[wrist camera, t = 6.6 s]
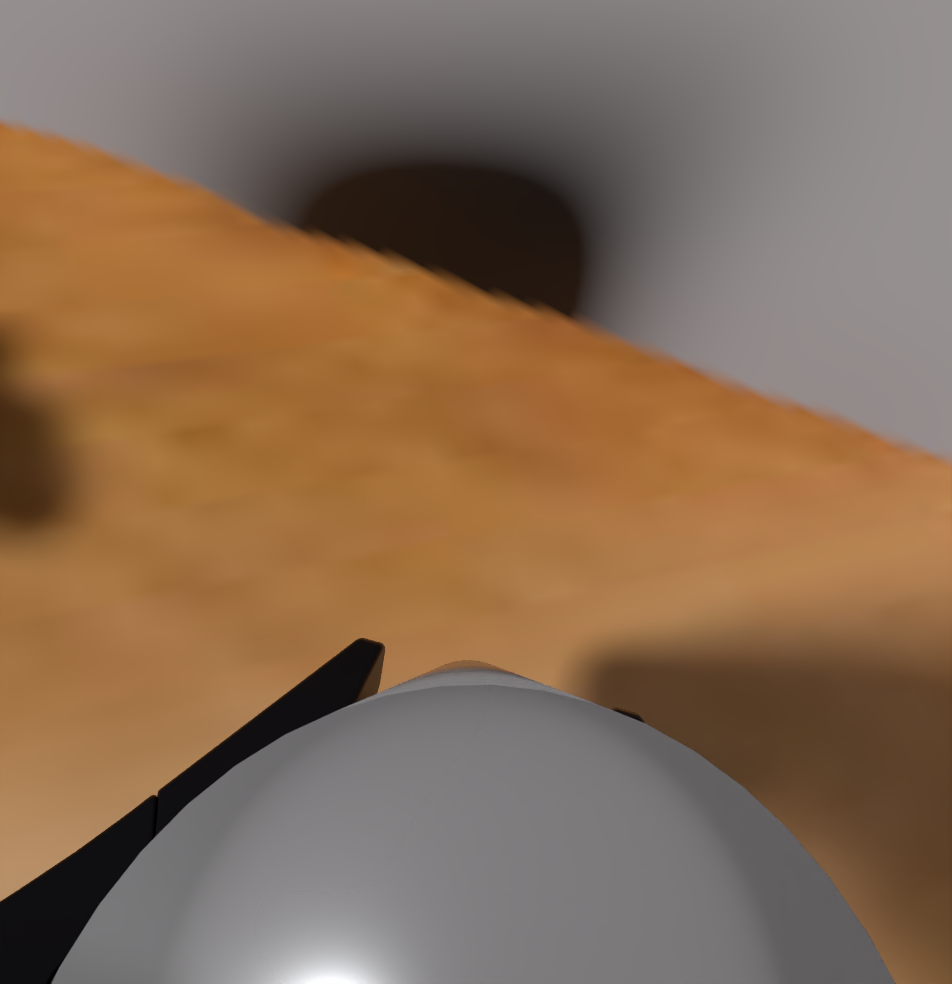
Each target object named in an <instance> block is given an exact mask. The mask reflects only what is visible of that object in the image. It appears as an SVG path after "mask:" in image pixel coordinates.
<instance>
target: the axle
mask: <svg viewBox="0 0 952 984" xmlns="http://www.w3.org/2000/svg"><path fill="white" fill-rule="evenodd" d="M51 984H895V982H894V980H893V979H892V977H891V975H890V973H889V971H888V969H887V967H886V966H885V964H884V962H883V960H882V958H881V956H880V955H879V953H878V951H877V949H876V947H875V945H874V944H873V942H872V940H871V938H870V936H869V935H868V933H867V932H866V930H865V929H864V927H863V926H862V924H861V923H860V921H859V920H858V918H857V917H856V915H855V914H854V913H853V911H852V910H851V908H850V907H849V905H848V904H847V902H846V901H845V899H844V898H843V896H842V895H841V894H840V892H839V891H838V889H837V888H836V886H835V885H834V883H833V882H832V880H831V879H830V878H829V876H828V875H827V874H826V873H825V872H824V871H823V869H822V868H821V867H820V866H819V865H818V864H817V862H816V861H815V860H814V859H813V858H812V856H811V855H810V854H809V853H808V852H807V851H806V849H805V848H804V847H803V846H802V845H801V844H800V842H799V841H798V840H797V839H796V838H795V837H794V835H793V834H792V833H791V832H790V831H789V830H788V828H787V827H785V826H784V825H783V824H782V823H781V822H780V821H779V820H778V819H777V818H776V817H775V816H774V815H773V814H772V813H771V812H769V811H768V810H767V809H766V808H765V807H764V806H763V805H762V804H761V803H760V802H759V801H758V800H757V799H756V798H755V797H753V796H752V795H751V794H750V793H749V792H748V791H747V790H746V789H745V788H744V787H743V786H742V785H740V784H739V783H737V782H736V781H735V780H733V779H732V778H731V777H729V776H728V775H727V774H725V773H724V772H722V771H721V770H720V769H718V768H717V767H716V766H714V765H713V764H712V763H710V762H709V761H708V760H706V759H705V758H703V757H702V756H701V755H699V754H698V753H697V752H695V751H694V750H692V749H690V748H688V747H686V746H685V745H683V744H681V743H679V742H678V741H676V740H674V739H672V738H670V737H669V736H667V735H665V734H663V733H661V732H660V731H658V730H656V729H654V728H653V727H651V726H649V725H647V724H645V723H643V722H640V721H638V720H635V719H633V718H630V717H628V716H625V715H623V714H620V713H618V712H615V711H613V710H610V709H608V708H605V707H603V706H600V705H598V704H595V703H593V702H590V701H587V700H585V699H582V698H579V697H577V696H574V695H571V694H569V693H566V692H563V691H560V690H558V689H555V688H552V687H550V686H547V685H544V684H542V683H539V682H536V681H534V680H531V679H528V678H526V677H523V676H520V675H518V674H515V673H512V672H510V671H507V670H504V669H501V668H499V667H496V666H493V665H491V664H488V663H484V662H480V661H473V660H462V661H456V662H452V663H449V664H445V665H443V666H441V667H438V668H436V669H434V670H431V671H429V672H427V673H424V674H422V675H420V676H417V677H415V678H413V679H410V680H408V681H405V682H403V683H401V684H398V685H396V686H394V687H391V688H389V689H387V690H384V691H382V692H380V693H377V694H375V695H373V696H370V697H368V698H366V699H363V700H361V701H359V702H356V703H354V704H351V705H349V706H347V707H344V708H342V709H340V710H337V711H335V712H333V713H331V714H329V715H326V716H324V717H322V718H320V719H318V720H316V721H313V722H311V723H309V724H307V725H305V726H303V727H300V728H298V729H296V730H294V731H292V732H290V733H287V734H285V735H284V736H282V737H280V738H279V739H277V740H276V741H274V742H272V743H271V744H269V745H268V746H266V747H264V748H263V749H261V750H260V751H258V752H256V753H255V754H253V755H252V756H250V757H248V758H247V759H245V760H244V761H242V762H240V763H239V764H237V765H236V766H234V767H233V768H232V769H231V770H229V771H228V772H227V773H226V774H224V775H223V776H222V777H221V778H219V779H218V780H217V781H216V782H214V783H213V784H212V785H211V786H210V787H208V788H207V789H206V790H205V791H203V792H202V793H201V794H200V795H198V796H197V797H196V798H195V799H193V800H192V801H191V802H190V803H188V804H187V805H186V806H185V807H184V808H183V809H182V810H181V811H180V812H179V813H178V814H177V815H176V816H175V817H174V818H173V819H172V821H171V822H170V823H169V824H168V825H167V826H166V827H165V828H164V829H163V830H162V831H161V832H160V833H159V834H158V835H157V836H156V837H155V838H154V839H153V840H152V841H151V842H150V843H149V844H148V845H147V846H146V847H145V848H144V849H143V850H142V851H141V852H140V854H139V855H138V856H137V857H136V859H135V860H134V861H133V862H132V864H131V865H130V866H129V868H128V869H127V870H126V871H125V873H124V874H123V875H122V876H121V878H120V879H119V880H118V881H117V883H116V884H115V885H114V886H113V888H112V889H111V890H110V892H109V893H108V894H107V895H106V897H105V898H104V899H103V900H102V902H101V903H100V904H99V906H98V907H97V909H96V910H95V912H94V914H93V915H92V917H91V918H90V920H89V921H88V923H87V925H86V926H85V928H84V929H83V931H82V932H81V934H80V936H79V937H78V939H77V940H76V942H75V944H74V945H73V947H72V948H71V950H70V951H69V953H68V955H67V956H66V958H65V959H64V961H63V962H62V964H61V966H60V967H59V969H58V971H57V973H56V975H55V977H54V979H53V981H52V983H51Z"/></svg>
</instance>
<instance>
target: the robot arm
mask: <svg viewBox="0 0 952 984" xmlns="http://www.w3.org/2000/svg"><path fill="white" fill-rule="evenodd" d="M384 654H385V646H384V645H383V644H382V643H380V642H376V641H372V640H369V639H365V638H359V639H357V640H356V641H354V642H353V643H352V644H350V645H349V646H348V647H346V648H345V649H344V650H343V651H341V652H340V653H339V654H337V655H336V656H335V657H333V658H332V659H331V660H329V661H328V662H327V663H325V664H324V665H323V666H322V667H320V668H319V669H318V670H316V671H315V672H314V673H312V674H311V675H310V676H308V677H307V678H306V679H304V680H303V681H302V682H301V683H299V684H298V685H297V686H295V687H294V688H293V689H291V690H290V691H289V692H287V693H286V694H285V695H283V696H282V697H281V698H279V699H278V700H277V701H276V702H274V703H273V704H272V705H270V706H269V707H268V708H266V709H265V710H264V711H262V712H261V713H260V714H258V715H257V716H256V717H255V718H253V719H252V720H251V721H249V722H248V723H247V724H245V725H244V726H243V727H241V728H240V729H239V730H237V731H236V732H235V733H233V734H232V735H231V736H230V737H228V738H227V739H226V740H224V741H223V742H222V743H220V744H219V745H218V746H216V747H215V748H214V749H212V750H211V751H210V752H209V753H207V754H206V755H205V756H203V757H202V758H201V759H199V760H198V761H197V762H195V763H194V764H193V765H191V766H190V767H189V768H188V769H186V770H185V771H184V772H182V773H181V774H180V775H178V776H177V777H176V778H174V779H173V780H172V781H170V782H169V783H168V784H166V785H165V786H164V787H163V788H161V789H160V790H159V791H158V795H157V796H156V795H152V796H150V797H149V798H148V799H146V800H145V801H144V802H142V803H141V804H140V805H138V806H137V807H136V808H135V809H133V810H132V811H131V812H129V813H128V814H127V815H125V816H124V817H123V818H121V819H120V820H119V821H117V822H116V823H115V824H113V825H112V826H110V827H109V828H108V829H106V830H105V831H104V832H102V833H101V834H99V835H98V836H97V837H95V838H94V839H93V840H91V841H90V842H88V843H87V844H86V845H84V846H83V847H82V848H80V849H79V850H77V851H76V852H75V853H73V854H72V855H70V856H69V857H67V858H66V859H64V860H63V861H61V862H60V863H58V864H57V865H55V866H54V867H52V868H51V869H49V870H48V871H46V872H45V873H43V874H42V875H40V876H39V877H37V878H36V879H34V880H33V881H31V882H30V883H28V884H27V885H25V886H23V887H22V888H20V889H19V890H17V891H16V892H14V893H13V894H11V895H10V896H8V897H7V898H5V899H3V900H2V901H0V984H51V983H52V981H53V979H54V977H55V975H56V973H57V971H58V969H59V967H60V966H61V964H62V962H63V961H64V959H65V958H66V956H67V955H68V953H69V951H70V950H71V948H72V947H73V945H74V944H75V942H76V940H77V939H78V937H79V936H80V934H81V932H82V931H83V929H84V928H85V926H86V925H87V923H88V921H89V920H90V918H91V917H92V915H93V914H94V912H95V910H96V909H97V907H98V906H99V904H100V903H101V902H102V900H103V899H104V898H105V897H106V895H107V894H108V893H109V892H110V890H111V889H112V888H113V886H114V885H115V884H116V883H117V881H118V880H119V879H120V878H121V876H122V875H123V874H124V873H125V871H126V870H127V869H128V868H129V866H130V865H131V864H132V862H133V861H134V860H135V859H136V857H137V856H138V855H139V854H140V852H141V851H142V850H143V849H144V848H145V847H146V846H147V845H148V844H149V843H150V842H151V841H152V840H153V839H154V838H155V837H156V836H157V835H158V834H159V833H160V832H161V831H162V830H163V829H164V828H165V827H166V826H167V825H168V824H169V823H170V822H171V821H172V819H173V818H174V817H175V816H176V815H177V814H178V813H179V812H180V811H181V810H182V809H183V808H184V807H185V806H186V805H187V804H188V803H190V802H191V801H192V800H193V799H195V798H196V797H197V796H198V795H200V794H201V793H202V792H203V791H205V790H206V789H207V788H208V787H210V786H211V785H212V784H213V783H214V782H216V781H217V780H218V779H219V778H221V777H222V776H223V775H224V774H226V773H227V772H228V771H229V770H231V769H232V768H233V767H234V766H236V765H237V764H239V763H240V762H242V761H244V760H245V759H247V758H248V757H250V756H252V755H253V754H255V753H256V752H258V751H260V750H261V749H263V748H264V747H266V746H268V745H269V744H271V743H272V742H274V741H276V740H277V739H279V738H280V737H282V736H284V735H285V734H287V733H290V732H292V731H294V730H296V729H298V728H300V727H303V726H305V725H307V724H309V723H311V722H313V721H316V720H318V719H320V718H322V717H324V716H326V715H329V714H331V713H333V712H335V711H337V710H340V709H342V708H344V707H347V706H349V705H351V704H354V703H356V702H359V701H361V700H363V699H366V698H368V697H370V696H373V695H375V694H377V692H378V688H379V684H380V679H381V673H382V667H383V660H384ZM611 710H613V711H615V712H618V713H620V714H623V715H625V716H628V717H630V718H633V719H635V720H638V721H640V722H643V723H645V722H644V721H643V719H642V718H641V717H640V716H639V715H638V714H637V713H634V712H630V711H626V710H623V709H619V708H612V709H611Z"/></svg>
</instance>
